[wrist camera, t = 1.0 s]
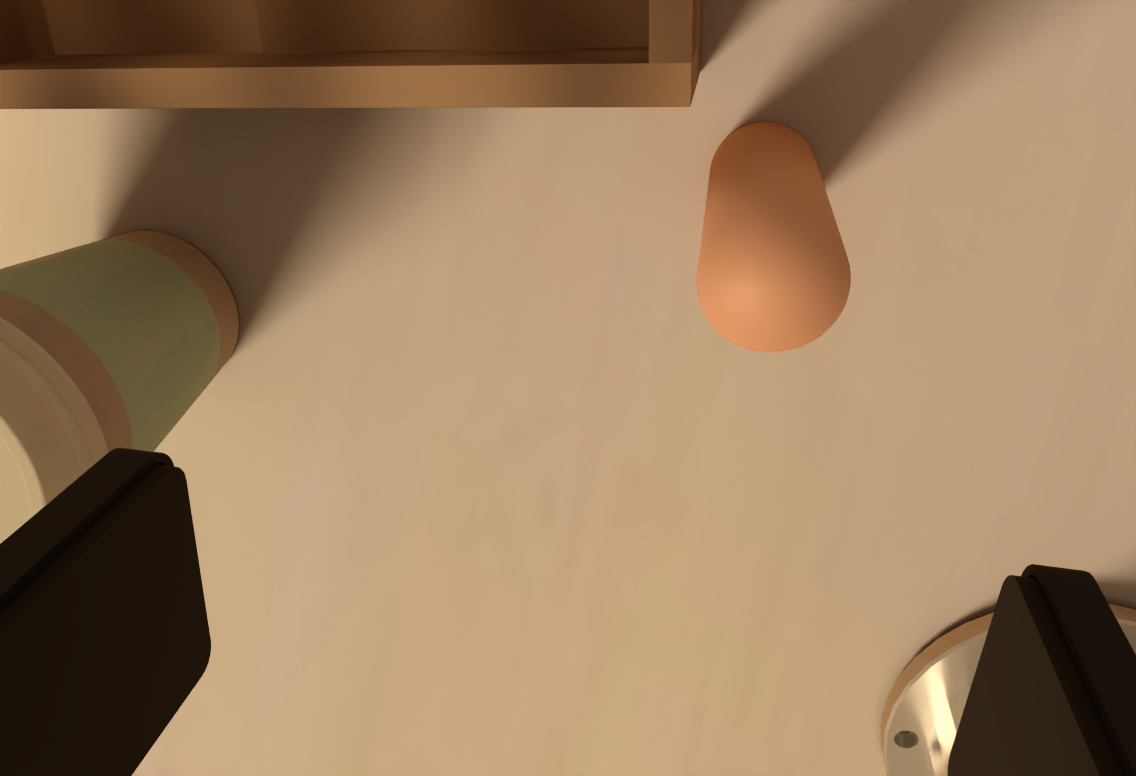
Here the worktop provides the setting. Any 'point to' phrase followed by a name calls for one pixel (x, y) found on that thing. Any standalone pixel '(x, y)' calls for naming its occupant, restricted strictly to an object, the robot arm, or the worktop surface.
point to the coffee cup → (102, 357)
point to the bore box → (348, 53)
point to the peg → (770, 243)
